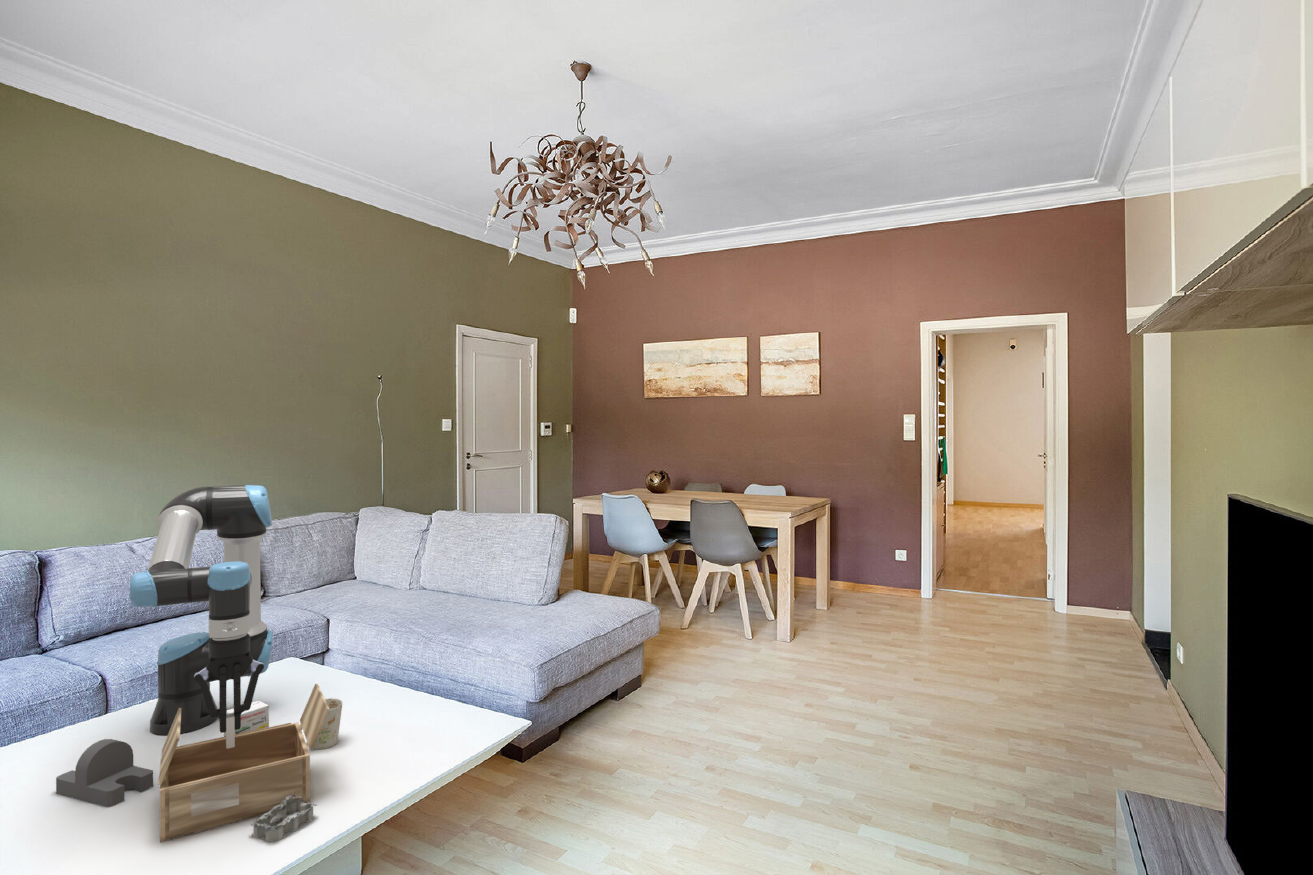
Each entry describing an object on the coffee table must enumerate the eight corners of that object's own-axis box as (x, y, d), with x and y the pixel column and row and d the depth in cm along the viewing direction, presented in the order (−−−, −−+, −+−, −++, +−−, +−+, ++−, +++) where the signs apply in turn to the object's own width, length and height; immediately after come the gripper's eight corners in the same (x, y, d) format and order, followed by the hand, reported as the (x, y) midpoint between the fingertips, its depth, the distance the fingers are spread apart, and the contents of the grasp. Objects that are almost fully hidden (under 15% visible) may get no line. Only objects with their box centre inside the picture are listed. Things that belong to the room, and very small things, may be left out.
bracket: (109, 809, 144) (108, 758, 144) (53, 794, 150) (53, 745, 150) (155, 786, 153) (155, 738, 153) (101, 773, 159) (101, 727, 159)
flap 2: (315, 683, 164) (317, 683, 165) (299, 720, 162) (301, 720, 163) (327, 708, 149) (329, 708, 150) (309, 749, 147) (312, 749, 148)
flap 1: (164, 749, 148) (162, 749, 148) (181, 707, 150) (178, 707, 149) (161, 784, 133) (158, 784, 133) (179, 738, 135) (176, 738, 134)
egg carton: (296, 809, 144) (296, 790, 144) (320, 818, 141) (320, 798, 141) (246, 836, 135) (246, 815, 135) (271, 846, 131) (271, 824, 131)
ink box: (233, 765, 163) (233, 715, 163) (223, 759, 166) (222, 711, 165) (270, 751, 170) (269, 703, 170) (259, 746, 173) (259, 699, 173)
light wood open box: (164, 794, 150) (164, 749, 149) (298, 762, 164) (298, 720, 164) (159, 844, 131) (159, 792, 131) (310, 803, 146) (310, 756, 146)
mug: (349, 739, 176) (349, 700, 176) (310, 761, 165) (310, 720, 164) (324, 734, 179) (324, 696, 179) (284, 756, 167) (283, 715, 167)
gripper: (192, 645, 140) (193, 760, 140) (266, 634, 147) (266, 744, 148) (192, 636, 146) (193, 746, 147) (263, 626, 154) (263, 731, 154)
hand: (230, 745), depth 147 cm, fingers closed
